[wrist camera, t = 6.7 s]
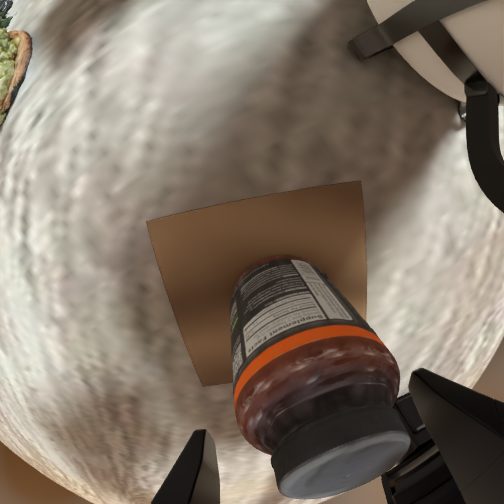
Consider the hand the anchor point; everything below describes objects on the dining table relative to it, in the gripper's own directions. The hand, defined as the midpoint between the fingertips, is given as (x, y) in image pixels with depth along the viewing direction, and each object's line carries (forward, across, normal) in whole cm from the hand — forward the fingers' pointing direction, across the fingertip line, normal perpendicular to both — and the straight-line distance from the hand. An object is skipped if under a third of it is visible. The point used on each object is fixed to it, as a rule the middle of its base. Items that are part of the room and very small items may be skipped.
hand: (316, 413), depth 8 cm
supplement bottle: (+9, 0, 0) cm, 9 cm away
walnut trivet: (+10, 0, 0) cm, 10 cm away
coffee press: (+9, -14, -15) cm, 22 cm away
